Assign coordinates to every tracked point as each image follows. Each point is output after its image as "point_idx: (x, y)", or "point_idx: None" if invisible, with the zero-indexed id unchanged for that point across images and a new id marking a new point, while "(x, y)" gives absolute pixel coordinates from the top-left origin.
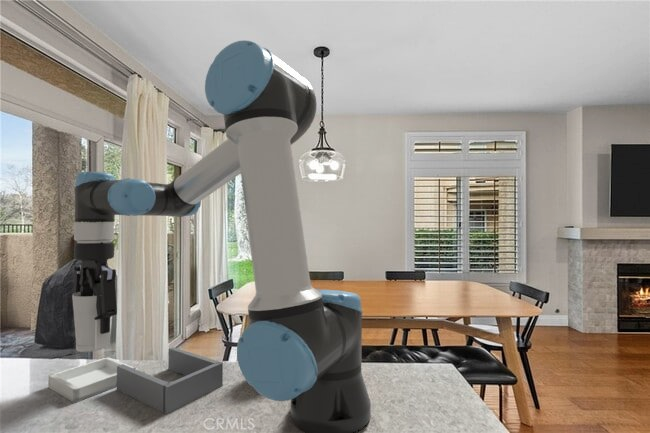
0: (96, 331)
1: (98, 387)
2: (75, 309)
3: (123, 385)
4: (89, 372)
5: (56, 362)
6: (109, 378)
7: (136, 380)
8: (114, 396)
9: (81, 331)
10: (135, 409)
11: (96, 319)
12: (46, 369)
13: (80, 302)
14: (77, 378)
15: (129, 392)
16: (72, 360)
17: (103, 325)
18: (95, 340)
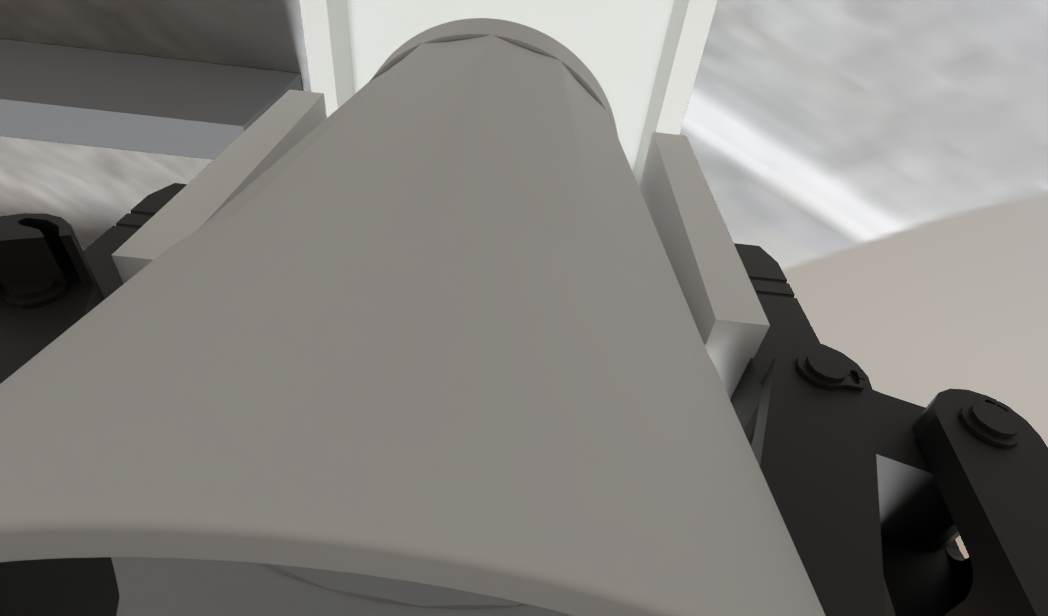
0: (212, 168)
1: None
2: (382, 208)
3: (206, 78)
4: (640, 126)
5: (1044, 143)
6: (312, 74)
7: (16, 84)
8: (216, 11)
9: (377, 86)
10: None
11: (2, 220)
12: (1024, 45)
13: (55, 354)
14: (627, 37)
15: (153, 63)
16: (950, 202)
17: (104, 240)
18: (281, 125)
